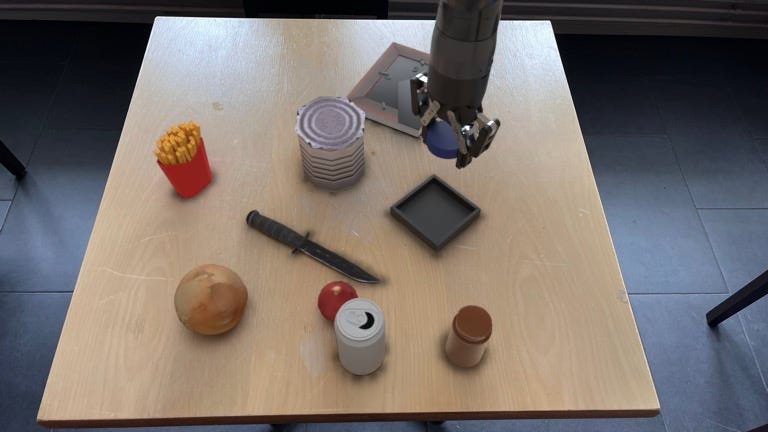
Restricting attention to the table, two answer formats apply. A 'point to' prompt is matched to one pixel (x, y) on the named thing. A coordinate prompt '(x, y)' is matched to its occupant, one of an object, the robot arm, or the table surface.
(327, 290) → the onion
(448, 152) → the lid
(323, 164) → the can
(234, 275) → the onion
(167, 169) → the french fries
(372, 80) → the picture frame
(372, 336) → the beverage can
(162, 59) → the table surface
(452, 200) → the tray
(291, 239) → the knife
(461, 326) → the jar
